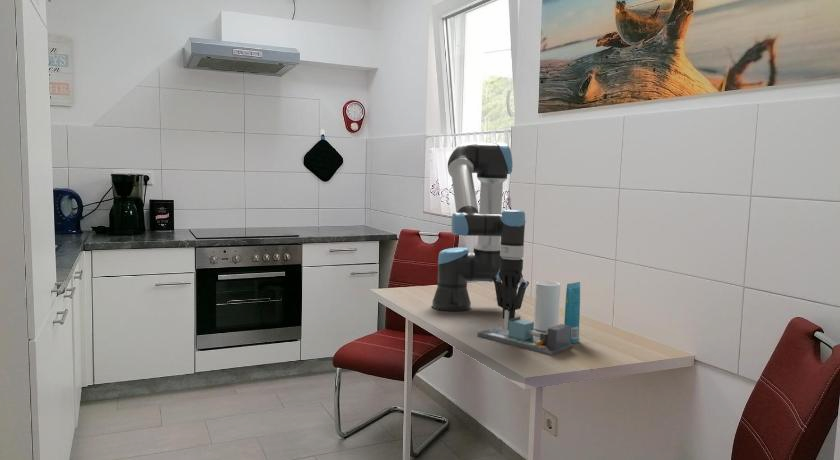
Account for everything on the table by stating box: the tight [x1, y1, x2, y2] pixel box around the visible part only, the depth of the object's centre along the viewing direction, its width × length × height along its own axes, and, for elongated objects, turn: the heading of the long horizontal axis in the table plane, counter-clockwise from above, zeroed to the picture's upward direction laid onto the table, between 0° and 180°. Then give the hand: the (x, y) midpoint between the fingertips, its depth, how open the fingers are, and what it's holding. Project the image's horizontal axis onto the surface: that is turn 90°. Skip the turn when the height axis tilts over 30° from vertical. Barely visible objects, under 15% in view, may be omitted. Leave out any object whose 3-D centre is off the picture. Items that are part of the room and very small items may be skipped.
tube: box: [563, 281, 581, 344], centre depth 199 cm, size 7×5×19 cm, turn 140°
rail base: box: [477, 323, 573, 356], centre depth 198 cm, size 28×12×7 cm, turn 47°
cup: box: [533, 280, 561, 332], centre depth 214 cm, size 8×8×16 cm
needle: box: [535, 331, 548, 345], centre depth 191 cm, size 2×7×3 cm, turn 137°
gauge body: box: [509, 316, 543, 340], centre depth 197 cm, size 11×5×6 cm, turn 47°
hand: (508, 329), depth 202 cm, fingers closed
